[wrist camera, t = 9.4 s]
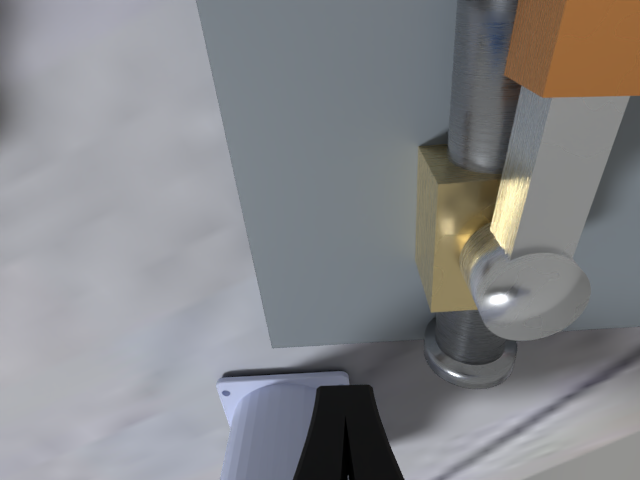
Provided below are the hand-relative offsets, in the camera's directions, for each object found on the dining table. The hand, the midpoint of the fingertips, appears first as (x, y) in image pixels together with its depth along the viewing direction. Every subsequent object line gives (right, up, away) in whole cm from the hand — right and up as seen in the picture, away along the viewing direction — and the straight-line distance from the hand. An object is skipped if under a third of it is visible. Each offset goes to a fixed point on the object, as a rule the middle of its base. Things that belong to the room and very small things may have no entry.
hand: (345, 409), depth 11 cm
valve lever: (+6, +8, +1) cm, 10 cm away
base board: (+6, +7, +8) cm, 12 cm away
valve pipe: (+6, +7, +7) cm, 12 cm away
